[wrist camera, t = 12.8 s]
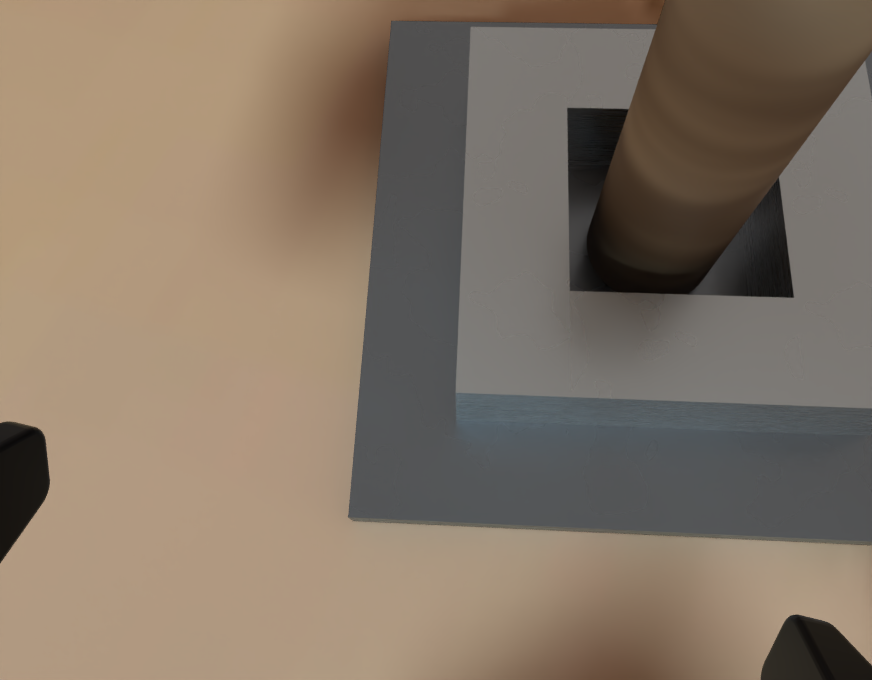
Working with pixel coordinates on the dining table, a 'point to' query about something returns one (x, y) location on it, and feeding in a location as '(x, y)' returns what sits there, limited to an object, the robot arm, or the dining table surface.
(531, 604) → the dining table surface
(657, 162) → the peg
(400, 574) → the dining table surface
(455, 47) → the socket
